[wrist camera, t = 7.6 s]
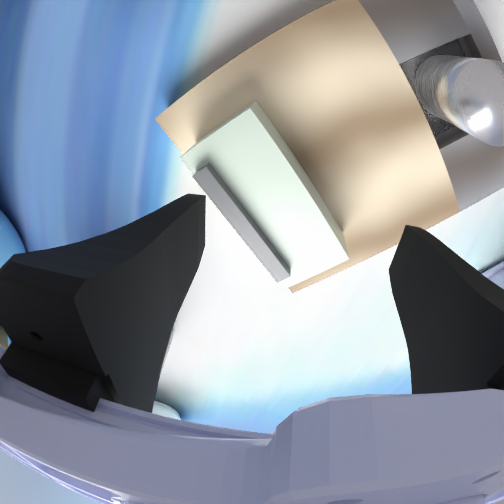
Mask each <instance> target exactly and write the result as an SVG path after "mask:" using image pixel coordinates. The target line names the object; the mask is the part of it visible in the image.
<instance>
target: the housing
mask: <svg viewBox="0 0 504 504" xmlns="http://www.w3.org/2000/svg"><path fill="white" fill-rule="evenodd" d="M456 39H457V40H458V42H459V44H460V46H461V48H462V50H463V52H464V54H465V56H466V57H471V58H481V59H489V60H496V61H500V62H502V61H501V58H500V56H499V53H498V51H497V49H496V46H495V44H494V42H493V39H492V37H491V35H490V33H489V31H488V29H487V27H486V25H485V23H484V21H483V19H482V17H481V15H480V13H479V11H478V9H477V7H476V5H475V4H474V2H473V0H334V1H332V2H330V3H328V4H326V5H324V6H322V7H320V8H318V9H316V10H314V11H312V12H310V13H308V14H306V15H304V16H303V17H301V18H299V19H297V20H295V21H293V22H292V23H290V24H288V25H286V26H285V27H283V28H281V29H279V30H278V31H276V32H274V33H273V34H271V35H269V36H268V37H266V38H264V39H263V40H261V41H259V42H258V43H256V44H255V45H253V46H252V47H250V48H248V49H247V50H245V51H244V52H242V53H241V54H239V55H238V56H236V57H235V58H233V59H232V60H230V61H229V62H228V63H226V64H225V65H223V66H222V67H220V68H219V69H218V70H216V71H215V72H213V73H212V74H211V75H209V76H208V77H207V78H205V79H204V80H203V81H201V82H200V83H199V84H197V85H196V86H195V87H193V88H192V89H191V90H189V91H188V92H187V93H186V94H184V95H183V96H182V97H181V98H179V99H178V100H177V101H176V102H174V103H173V104H172V105H171V106H169V107H168V108H167V109H166V110H165V111H163V112H162V113H161V114H160V115H159V116H158V117H156V118H155V120H156V121H157V122H158V124H159V125H160V126H161V127H162V129H163V130H164V131H165V132H166V134H167V135H168V136H169V137H170V139H171V140H172V141H173V142H174V144H175V145H176V146H177V147H178V149H179V150H180V151H181V152H182V154H184V153H185V152H186V151H187V150H188V149H189V148H190V147H192V146H193V145H194V144H195V143H196V142H197V141H199V140H200V139H201V138H203V137H204V136H206V135H207V134H208V133H210V132H211V131H213V130H214V129H215V128H217V127H218V126H220V125H221V124H222V123H224V122H225V121H227V120H228V119H230V118H231V117H233V116H234V115H236V114H237V113H239V112H240V111H242V110H243V109H245V108H246V107H248V106H249V105H251V104H252V103H254V102H255V101H257V103H258V104H259V105H260V107H261V108H262V109H263V111H264V112H265V114H266V115H267V116H268V118H269V119H270V121H271V122H272V124H273V125H274V126H275V128H276V129H277V131H278V132H279V134H280V135H281V136H282V138H283V139H284V141H285V142H286V144H287V145H288V147H289V148H290V150H291V151H292V153H293V154H294V156H295V157H296V159H297V160H298V162H299V163H300V165H301V166H302V168H303V169H304V171H305V172H306V174H307V175H308V177H309V178H310V180H311V182H312V183H313V185H314V186H315V188H316V189H317V191H318V193H319V194H320V196H321V197H322V199H323V201H324V202H325V204H326V206H327V207H328V209H329V210H330V212H331V214H332V215H333V217H334V219H335V220H336V222H337V224H338V225H339V227H340V229H341V230H342V232H343V234H344V238H345V242H346V247H347V251H348V255H349V260H347V261H345V262H342V263H340V264H338V265H336V266H334V267H332V268H330V269H328V270H325V271H323V272H321V273H319V274H317V275H315V276H313V277H310V278H308V279H306V280H304V281H302V282H299V283H297V284H295V285H293V286H291V287H288V288H289V289H290V290H291V292H292V293H294V292H296V291H299V290H301V289H303V288H305V287H308V286H310V285H312V284H314V283H316V282H319V281H321V280H323V279H325V278H327V277H330V276H332V275H334V274H336V273H338V272H340V271H343V270H345V269H347V268H349V267H351V266H353V265H355V264H357V263H359V262H362V261H364V260H366V259H368V258H370V257H372V256H374V255H376V254H378V253H380V252H382V251H384V250H386V249H388V248H390V247H392V246H394V245H397V244H399V242H400V239H401V236H402V233H403V231H404V228H405V225H410V226H416V227H420V228H422V229H424V230H426V229H428V228H430V227H432V226H434V225H436V224H438V223H440V222H441V221H443V220H445V219H447V218H449V217H451V216H453V215H455V214H457V213H458V212H460V211H462V210H464V209H466V208H468V207H469V206H471V205H473V204H475V203H477V202H479V201H480V200H482V199H484V198H486V197H487V196H489V195H491V194H493V193H495V192H496V191H498V190H500V189H502V188H503V187H504V146H501V147H496V146H491V145H488V144H486V143H484V142H483V141H481V140H479V139H477V138H476V137H474V136H472V135H470V134H469V133H467V132H465V131H463V130H461V129H459V128H458V127H456V126H453V127H451V128H449V129H447V130H445V131H443V132H441V133H439V134H437V135H436V136H434V135H433V133H432V130H431V128H430V126H429V123H428V121H427V119H426V117H425V115H424V112H423V110H422V108H421V106H420V104H419V102H418V100H417V98H416V96H415V94H414V91H413V90H412V88H411V86H410V84H409V82H408V80H407V78H406V76H405V74H404V72H403V70H402V69H401V67H400V65H399V64H401V63H403V62H405V61H408V60H410V59H412V58H414V57H416V56H418V55H421V54H423V53H425V52H427V51H430V50H432V49H434V48H436V47H439V46H441V45H444V44H446V43H448V42H451V41H453V40H456Z"/></svg>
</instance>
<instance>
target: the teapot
mask: <svg viewBox="0 0 504 504" xmlns="http://www.w3.org/2000/svg"><path fill="white" fill-rule="evenodd" d="M18 253H26V250H25V247H24V245H23V243H22V240H21V238H20V236H19V235H18V233H17V231H16V229H15V228H14V226H13V225H12V223H11V222H10V221H9V219H8V218H7V217H6V215H5V214H4V213H3V212H2V211H1V210H0V268H1V267H2V266H3V265H4V264H5V263H6V262H7V261H8V260H9V258H10V257H11V256H12V255H14V254H18ZM10 344H11V340H10V339H9V337H8V347H9V345H10Z"/></svg>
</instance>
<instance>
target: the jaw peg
mask: <svg viewBox="0 0 504 504" xmlns="http://www.w3.org/2000/svg"><path fill="white" fill-rule="evenodd" d="M414 87H415V92H416V95H417V98H418V100H419V102H420V103H421V105H422V106H423V107H424V108H425V109H426V110H427V111H428V112H429V113H431V114H432V115H434V116H436V117H438V118H440V119H442V120H444V121H446V122H448V123H450V124H452V125H454V126H456V127H458V128H459V129H461V130H463V131H465V132H467V133H469V134H470V135H472V136H474V137H476V138H477V139H479V140H481V141H483V142H484V143H486V144H488V145H491V146H496V147H501V146H504V63H502V62H500V61H496V60H489V59H481V58H471V57H461V56H447V55H434V56H431V57H428V58H426V59H425V60H424V61H423V62H422V63H421V64H420V65H419V66H418V68H417V71H416V73H415V79H414Z"/></svg>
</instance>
